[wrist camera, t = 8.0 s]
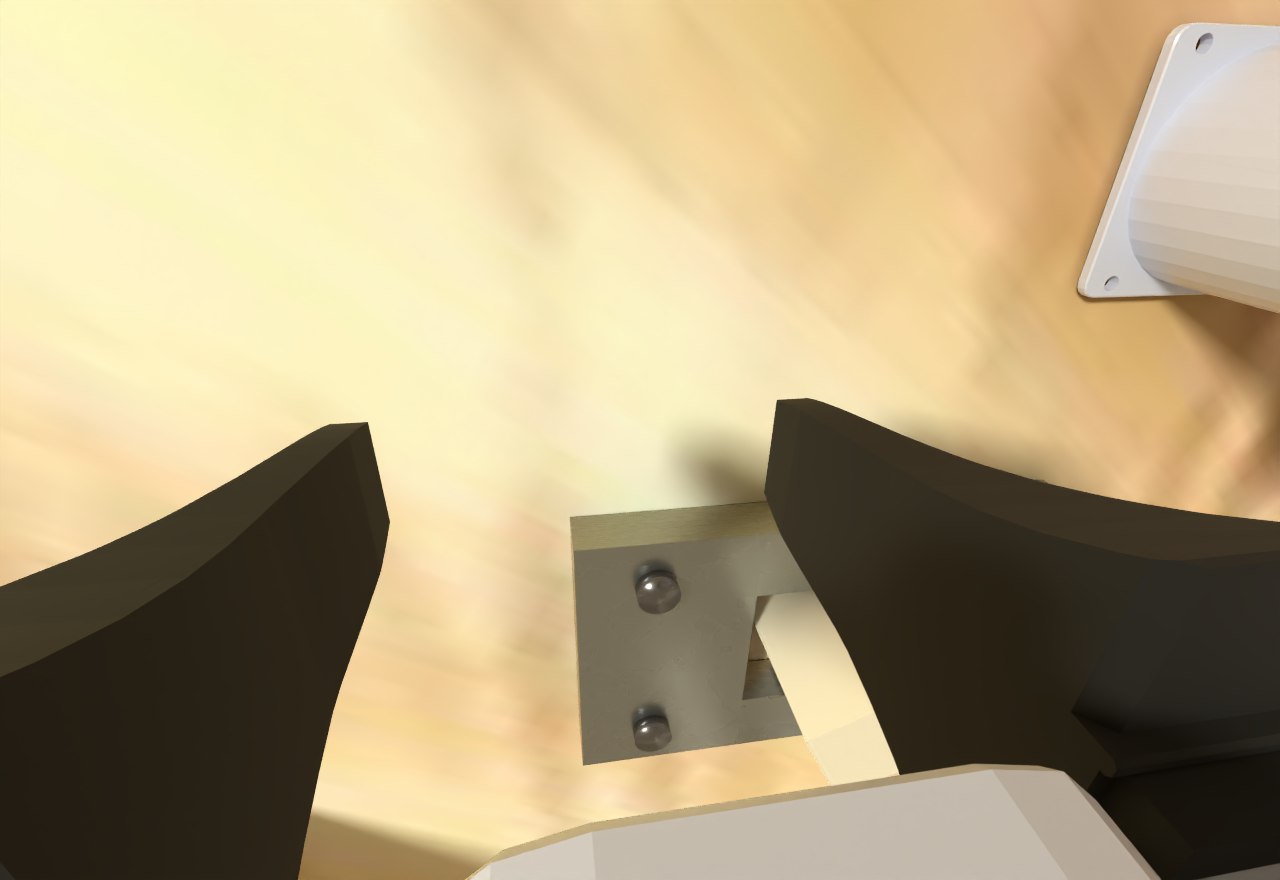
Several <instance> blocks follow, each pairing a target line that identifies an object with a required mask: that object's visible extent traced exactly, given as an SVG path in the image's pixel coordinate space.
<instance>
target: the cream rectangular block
mask: <svg viewBox="0 0 1280 880" xmlns="http://www.w3.org/2000/svg"><path fill="white" fill-rule="evenodd" d="M753 622H754V625H755V627H756V629H757V632H758V634H759V636H760V638H761V641H762V643H763V645H764V648H765V650H766V652H767V654H768V657H769V659H770V661H771V664H772V666H773V668H774V670H775V673H776V675H777V677H778V680H779V682H780V684H781V686H782V689H783V691H784V693H785V696H786V698H787V700H788V702H789V705H790V707H791V709H792V712H793V714H794V716H795V718H796V721H797V723H798V725H799V728H800V730H801V732H802V734H803V737H804V739H805V741H806V743H807V745H808V747H809V749H810V751H811V752H812V754H813V756H814V758H815V760H816V761H817V763H818V765H819V767H820V769H821V770H822V772H823V774H824V776H825V778H826V779H827V781H828V783H829V785H830V786H833V785H840V784H846V783H853V782H859V781H866V780H872V779H879V778H885V777H889V776H891V775H893V774H896V773H898V772H899V771H898V769H897V766H896V764H895V761H894V758H893V756H892V753H891V751H890V748H889V746H888V744H887V741H886V739H885V736H884V734H883V732H882V729H881V727H880V724H879V722H878V720H877V717H876V715H875V712H874V710H873V707H872V705H871V703H870V700H869V698H868V696H867V694H866V691H865V689H864V687H863V685H862V682H861V680H860V678H859V676H858V674H857V671H856V669H855V667H854V665H853V662H852V660H851V658H850V656H849V653H848V651H847V649H846V647H845V646H844V644H843V642H842V640H841V638H840V636H839V634H838V632H837V631H836V629H835V627H834V625H833V624H832V622H831V620H830V618H829V617H828V615H827V613H826V612H825V610H824V608H823V607H822V605H821V603H820V602H819V600H818V598H817V597H816V595H815V593H814V591H813V590H812V591H803V592H793V593H783V594H774V595H764V596H757V600H756V607H755V613H754V620H753Z"/></svg>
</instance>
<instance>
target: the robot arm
mask: <svg viewBox="0 0 1280 880" xmlns="http://www.w3.org/2000/svg"><path fill="white" fill-rule="evenodd" d="M1199 38H1200V44H1199V47H1198V48H1197V50H1196V44H1197V42H1198V40H1199ZM1108 279H1109V281H1108V283H1107V284H1106V285H1105V283H1106V281H1107V280H1108ZM1077 288H1078V292H1079V293H1080V294H1081V295H1084V296H1087V297H1091V298H1104V297H1136V296H1169V295H1202V294H1210V295H1213V296H1217V297H1221V298H1224V299H1228V300H1232V301H1235V302H1239V303H1242V304H1246V305H1250V306H1253V307H1257V308H1260V309H1264V310H1268V311H1271V312H1275V313H1279V314H1280V26H1262V25H1240V24H1219V23H1197V22H1196V23H1188V24H1182V25H1179V26H1178V27H1176V28H1175V29H1173V31H1172V32H1171V33H1170V34H1169V35H1168V37H1167V39H1166V41H1165V43H1164V45H1163V48H1162V51H1161V54H1160V57H1159V59H1158V62H1157V65H1156V68H1155V70H1154V73H1153V76H1152V79H1151V81H1150V84H1149V87H1148V90H1147V93H1146V95H1145V98H1144V101H1143V104H1142V106H1141V109H1140V112H1139V115H1138V118H1137V120H1136V123H1135V126H1134V129H1133V131H1132V134H1131V137H1130V140H1129V142H1128V145H1127V148H1126V151H1125V154H1124V156H1123V159H1122V162H1121V165H1120V167H1119V170H1118V173H1117V176H1116V179H1115V181H1114V184H1113V187H1112V190H1111V192H1110V195H1109V198H1108V201H1107V204H1106V206H1105V209H1104V212H1103V215H1102V217H1101V220H1100V223H1099V226H1098V228H1097V231H1096V234H1095V237H1094V240H1093V242H1092V245H1091V248H1090V251H1089V253H1088V256H1087V259H1086V262H1085V265H1084V267H1083V270H1082V273H1081V276H1080V278H1079V281H1078V286H1077ZM764 493H765V496H766V499H767V501H768V504H769V507H770V510H771V512H772V515H773V517H774V520H775V522H776V525H777V527H778V529H779V532H780V534H781V536H782V538H783V540H784V542H785V543H786V545H787V547H788V549H789V550H790V552H791V554H792V556H793V557H794V559H795V561H796V563H797V564H798V566H799V568H800V570H801V571H802V573H803V575H804V576H805V578H806V580H807V581H808V583H809V585H810V586H811V588H812V590H813V591H814V593H815V595H816V597H817V598H818V600H819V602H820V603H821V605H822V607H823V608H824V610H825V612H826V613H827V615H828V617H829V618H830V620H831V622H832V624H833V625H834V627H835V629H836V631H837V632H838V634H839V636H840V638H841V640H842V642H843V644H844V646H845V647H846V649H847V651H848V653H849V656H850V658H851V660H852V662H853V665H854V667H855V669H856V671H857V674H858V676H859V678H860V680H861V682H862V685H863V687H864V689H865V691H866V694H867V696H868V698H869V700H870V703H871V705H872V707H873V710H874V712H875V715H876V717H877V720H878V722H879V724H880V727H881V729H882V732H883V734H884V736H885V739H886V741H887V744H888V746H889V748H890V751H891V753H892V756H893V758H894V761H895V764H896V766H897V769H898V771H899V774H900V775H898V776H892V777H885V778H879V779H872V780H866V781H859V782H853V783H846V784H840V785H833V786H827V787H820V788H814V789H807V790H801V791H794V792H788V793H781V794H775V795H768V796H762V797H755V798H749V799H742V800H736V801H729V802H723V803H716V804H710V805H703V806H697V807H690V808H684V809H678V810H671V811H665V812H658V813H652V814H645V815H639V816H632V817H626V818H619V819H613V820H606V821H600V822H593V823H589V824H585V825H582V826H579V827H576V828H572V829H569V830H566V831H563V832H560V833H556V834H553V835H550V836H547V837H543V838H540V839H537V840H534V841H531V842H527V843H524V844H521V845H518V846H515V847H511V848H508V849H505V850H503V851H501V852H500V853H499V854H498V855H496V856H495V857H494V858H492V859H491V860H490V861H488V862H487V863H486V864H485V865H483V866H482V867H481V868H479V869H478V870H477V871H475V872H474V873H473V874H472V875H470V876H469V877H468V878H466V879H465V880H1280V522H1275V521H1266V520H1257V519H1248V518H1239V517H1230V516H1221V515H1212V514H1205V513H1198V512H1191V511H1185V510H1179V509H1172V508H1166V507H1160V506H1154V505H1147V504H1141V503H1136V502H1131V501H1125V500H1120V499H1115V498H1110V497H1105V496H1100V495H1095V494H1091V493H1087V492H1082V491H1078V490H1073V489H1069V488H1064V487H1060V486H1056V485H1051V484H1048V483H1044V482H1040V481H1036V480H1032V479H1028V478H1025V477H1021V476H1018V475H1015V474H1011V473H1008V472H1005V471H1001V470H998V469H995V468H991V467H988V466H984V465H981V464H978V463H975V462H972V461H969V460H966V459H963V458H961V457H958V456H955V455H953V454H950V453H947V452H945V451H942V450H939V449H936V448H934V447H931V446H928V445H926V444H923V443H921V442H918V441H916V440H913V439H911V438H908V437H906V436H904V435H901V434H899V433H896V432H894V431H892V430H889V429H887V428H885V427H882V426H880V425H878V424H875V423H873V422H871V421H868V420H866V419H863V418H861V417H859V416H856V415H854V414H852V413H849V412H847V411H845V410H842V409H840V408H837V407H834V406H832V405H829V404H826V403H824V402H820V401H817V400H813V399H809V398H804V399H786V400H777V403H776V411H775V418H774V425H773V433H772V440H771V447H770V455H769V462H768V469H767V477H766V484H765V491H764ZM389 524H390V520H389V516H388V511H387V507H386V502H385V498H384V493H383V489H382V484H381V480H380V475H379V470H378V466H377V461H376V457H375V452H374V448H373V443H372V439H371V434H370V430H369V425H368V422H363V423H345V424H329V425H327V426H324V427H322V428H320V429H318V430H316V431H314V432H312V433H310V434H308V435H307V436H305V437H303V438H301V439H300V440H298V441H296V442H295V443H293V444H291V445H290V446H288V447H286V448H285V449H283V450H281V451H280V452H278V453H277V454H275V455H273V456H272V457H270V458H268V459H267V460H265V461H263V462H262V463H260V464H258V465H257V466H255V467H253V468H252V469H250V470H248V471H247V472H245V473H243V474H242V475H240V476H238V477H237V478H235V479H233V480H231V481H230V482H228V483H226V484H224V485H222V486H221V487H219V488H217V489H215V490H213V491H212V492H210V493H208V494H206V495H204V496H203V497H201V498H199V499H197V500H195V501H194V502H192V503H190V504H188V505H186V506H185V507H183V508H181V509H179V510H177V511H175V512H173V513H171V514H170V515H168V516H166V517H164V518H162V519H160V520H158V521H156V522H154V523H151V524H149V525H147V526H145V527H143V528H141V529H139V530H137V531H135V532H132V533H130V534H128V535H126V536H124V537H121V538H119V539H117V540H115V541H113V542H111V543H108V544H106V545H104V546H102V547H99V548H97V549H95V550H92V551H90V552H88V553H85V554H83V555H81V556H78V557H75V558H73V559H70V560H68V561H65V562H63V563H60V564H57V565H55V566H52V567H50V568H47V569H45V570H42V571H39V572H37V573H34V574H32V575H29V576H27V577H24V578H22V579H19V580H16V581H14V582H11V583H9V584H6V585H4V586H1V587H0V880H298V875H299V870H300V864H301V859H302V853H303V848H304V842H305V837H306V833H307V828H308V823H309V818H310V813H311V808H312V804H313V799H314V794H315V789H316V784H317V779H318V775H319V770H320V766H321V761H322V757H323V753H324V748H325V744H326V740H327V735H328V731H329V727H330V722H331V718H332V714H333V710H334V707H335V704H336V700H337V697H338V694H339V690H340V687H341V684H342V681H343V678H344V675H345V673H346V670H347V667H348V664H349V661H350V658H351V656H352V653H353V650H354V647H355V644H356V641H357V639H358V636H359V633H360V630H361V627H362V625H363V622H364V619H365V616H366V613H367V610H368V608H369V605H370V602H371V599H372V596H373V593H374V590H375V587H376V584H377V581H378V578H379V575H380V572H381V568H382V563H383V558H384V553H385V548H386V542H387V536H388V530H389Z"/></svg>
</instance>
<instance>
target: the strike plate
mask: <svg viewBox="0 0 1280 880" xmlns="http://www.w3.org/2000/svg"><path fill="white" fill-rule="evenodd" d="M1036 481H1040V482H1044V483H1047V482H1045V481H1044V480H1036ZM570 527H571V548H572V569H573V591H574V612H575V633H576V655H577V676H578V698H579V719H580V734H581V746H582V758H583V765H590V764H598V763H605V762H612V761H619V760H626V759H633V758H641V757H648V756H655V755H662V754H669V753H676V752H684V751H691V750H698V749H705V748H712V747H719V746H726V745H734V744H741V743H748V742H755V741H762V740H769V739H777V738H784V737H791V736H798V735H803V734H802V732H801V730H800V728H799V725H798V723H797V721H796V718H795V716H794V714H793V712H792V709H791V707H790V705H789V702H788V700H787V698H786V696H785V693H784V691H783V689H782V686H781V684H780V682H779V680H778V677H777V675H776V673H775V670H774V668H773V666H772V664H771V661H770V659H765V660H757V661H748V655H749V648H750V641H751V634H752V627H753V620H754V613H755V607H756V600H757V596H764V595H774V594H783V593H793V592H803V591H812V588H811V586H810V585H809V583H808V581H807V580H806V578H805V576H804V575H803V573H802V571H801V570H800V568H799V566H798V564H797V563H796V561H795V559H794V557H793V556H792V554H791V552H790V550H789V549H788V547H787V545H786V543H785V542H784V540H783V538H782V536H781V534H780V532H779V529H778V527H777V525H776V522H775V520H774V517H773V515H772V512H771V510H770V507H769V504H768V502H757V503H745V504H732V505H720V506H707V507H695V508H682V509H669V510H657V511H644V512H632V513H619V514H607V515H594V516H581V517H570Z"/></svg>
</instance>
